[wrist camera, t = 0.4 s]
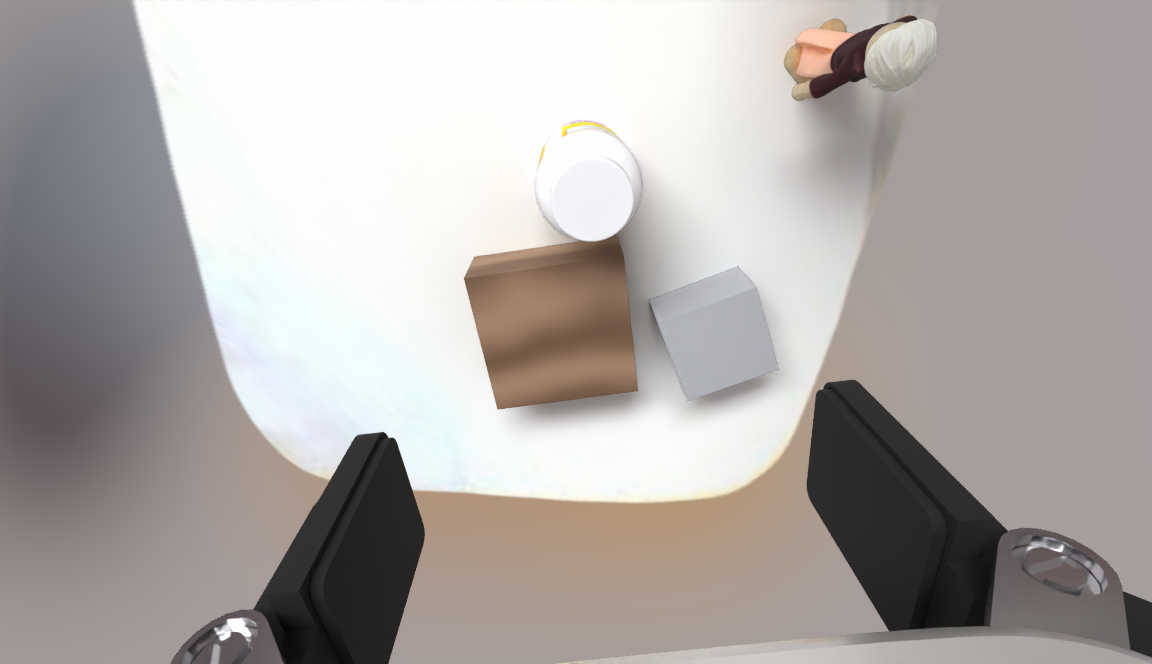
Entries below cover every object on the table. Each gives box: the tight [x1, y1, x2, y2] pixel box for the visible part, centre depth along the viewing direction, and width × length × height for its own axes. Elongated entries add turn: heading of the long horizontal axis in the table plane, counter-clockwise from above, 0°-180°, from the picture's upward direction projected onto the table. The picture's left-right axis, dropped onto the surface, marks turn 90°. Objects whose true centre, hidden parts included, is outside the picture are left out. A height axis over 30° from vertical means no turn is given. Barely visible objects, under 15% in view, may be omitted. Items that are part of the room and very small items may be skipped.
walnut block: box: [464, 236, 638, 409], centre depth 43 cm, size 12×12×5 cm
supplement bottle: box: [535, 120, 642, 242], centre depth 34 cm, size 7×7×13 cm
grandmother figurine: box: [784, 15, 938, 101], centre depth 31 cm, size 8×4×13 cm, turn 135°
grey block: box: [649, 266, 779, 401], centre depth 44 cm, size 8×8×5 cm
